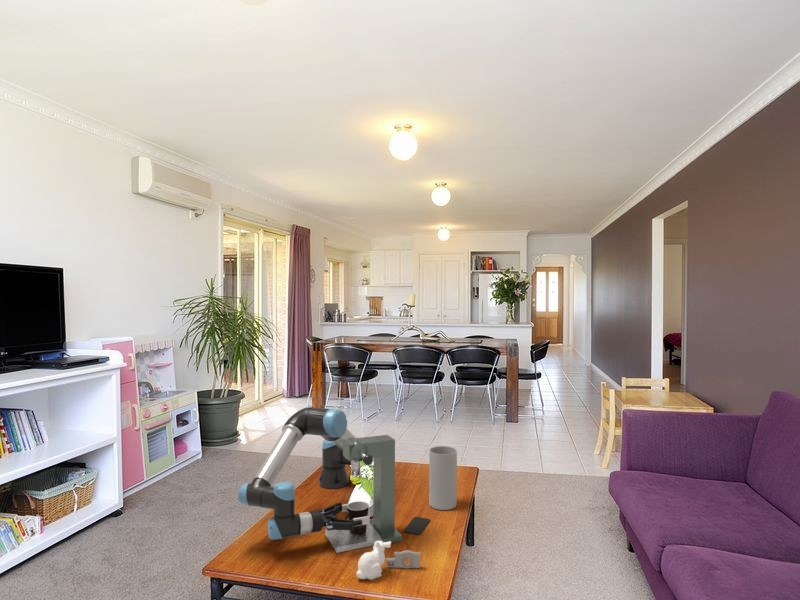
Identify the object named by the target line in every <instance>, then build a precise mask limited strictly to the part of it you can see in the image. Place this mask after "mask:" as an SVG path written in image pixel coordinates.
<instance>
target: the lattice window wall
mask: <svg viewBox="0 0 800 600" xmlns="http://www.w3.org/2000/svg"><path fill="white" fill-rule="evenodd" d="M393 554H394V557H385V561H386V568H396V569H397V568H402V569H420V568H421V561H420V558H421V556H422V555H421V554H422V553H421V551H418V552H416V551H415V552H414V551H412V550H403V551H394V553H393Z"/></svg>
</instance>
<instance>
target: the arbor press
mask: <svg viewBox="0 0 800 600" xmlns="http://www.w3.org/2000/svg"><path fill="white" fill-rule="evenodd" d="M343 456H344V457H346V458H347V459H348V460H349V461H351V465H350V474H351V476H352V477H358V476H360V475H361V466H360V461H362V460H363V462H364V463H365V464H366V465H370V466H371V464H373V496H372V497H373V502H372V503H373V504H372V505H373V506H372V509H373V511H372V512H373V513H372V515H373V516H372V518H371V519H370V524H367V527H366V532H365V533H364V534H361V535H354V534H351V533H350V530H327V528H325V529H324V535H325V536H326V538H327V540H328V541H329V543H330V544H331V547H332V548H333V550H334V551H335V552H336V553H335V554H339V553H342V552H343V553H344V552H348V551H353V550H357V549H364V548H367V547H371V546H374V543H375V542H376V541H383V543H384V542H390V541H391V544H393V543H397V542H403V535H402V534H401V532H399V531H398V530H397V528H396V527H395V525H396V523H395V522H396V521H395V518H396V517H395V516H396V514H395V512H396V501H395V500H396V494H395V493H396V491H395V490H396V486H395V485H396V482H395V481H396V440H395V438H393V437H392V436H390V435H388V434H383V435H373V436H365V437H358V438H349V439H346V440H343Z"/></svg>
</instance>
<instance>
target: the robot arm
mask: <svg viewBox="0 0 800 600" xmlns="http://www.w3.org/2000/svg"><path fill="white" fill-rule="evenodd" d="M307 435H313V436H321V438H323V439H324V440H323V441H322V448H321V450H322V452H321V453H322V455H321V457H322V458H321V460H322V461H321V462H322V466H321V467H322V468H321V471H320V472H321V473H320V475H319V478H318V486H320V487H321V488H324V489H329V490H330V489H332V490H334V489H341V488H344V487H347V484H348V483H350V478H349V473H348V471H347V468H346V465H347V466H351V461H349V460H348V459H347V458H346V457H344V456H343V440H346V439H349V438H359V437H355V435H354V434H353V433H352V432H351V431H350V430H349V429H348V419H347V415H346V413H345V411H343V410H341V409H338V408H326V407H325V408H323V407H315V406H308V407H303V408H301V409H300V410H297V411H296V412H295V413H293V414H292V415H291V416H290V417H289V418H288V419H287V420H286V422H285V423H284V425H283V426H282V428H281V434H280V435H279V436H278V439H277V440H276V442H275V444H274V446H273V447H272V448H271V450H270V451H269V453H268V455H267V456H266V459H265V460H264V461H263V463H262V464H261V466H260V468H259V469H258V471H257V473H256V474H255V476H254V477H253V479H252V481H251V482H247V483H243V484H242V485H241V486H240V487H239V490H238V492H237V493H238V494H237V498H238V501H239V503H240V504H241V505H245V506H249V507H258V508H264V509H269V510H273V517H270V518H269V519H267V536H268V538H269V539H270V540H271V541H272V540H283V539H286V538H292V537H296V536H304V535H307V534H310V533H312V534H313V533H318V532H321V531H322V529H323V528H324V527H326V529H327V530H354V527H355V526H360V525H365V524H370V520H371V519H370V517H371V516H370V515H368V516H365V517H360V518H354V519H353V520H349V519H348V518H347V519H345V518H341V517H340V518H338V516H337V515H339V514H340V513H341V512H342V513H346V512H347V513H348V510H347V505H348V504H349V503H345V504H342V502H337V503H333V504H331V505H329V506H327V507H324V508H321V509H317V510H311V511H310V512H309V511H305V512H304V511H303V512H298V513H295V504H296V503H295V500H296V498H295V497H296V494H295V493H296V491H295V485H294V484H293V483H292V482H290V481H281V482H278V483H276V484H274V483H275V481H276V479H277V478H278V477H279V475H280V473H281V471H282V470H283V467H284V465H286V462H287V461H288V459H289V457H290V456H291V454H292V452H293V450H294V449H295V447H296V445H297V443H298V442H299V441H302V439H303V438H304V436H307ZM273 484H274V486H273ZM348 485H349V484H348ZM340 487H341V488H340Z"/></svg>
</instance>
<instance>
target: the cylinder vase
mask: <svg viewBox="0 0 800 600" xmlns="http://www.w3.org/2000/svg"><path fill="white" fill-rule="evenodd" d="M428 454H429V455H428V458H429V461H428V462H429V463H428V464H429V465H428V466H429V468H428V469H429V470H428V475H429V476H428V480H429V481H428V483H429V484H428V485H429V486H428V489H429V491H428V492H429V493H428V500H429V501H428V504H429V506H430V507H431V508H433V509H435V510H437V511H450V510H453V509H455V508H456V506H457V503H458V501H457V500H458V498H457V497H458V496H457V495H458V494H457V493H458V492H457V489H458V488H457V486H458V481H457V480H458V477H457V476H458V475H457V474H458V450H457V449H456V448H455V447H451V446H444V445H440V446H439V445H438V446H433V447H431V448H429V453H428Z"/></svg>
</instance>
